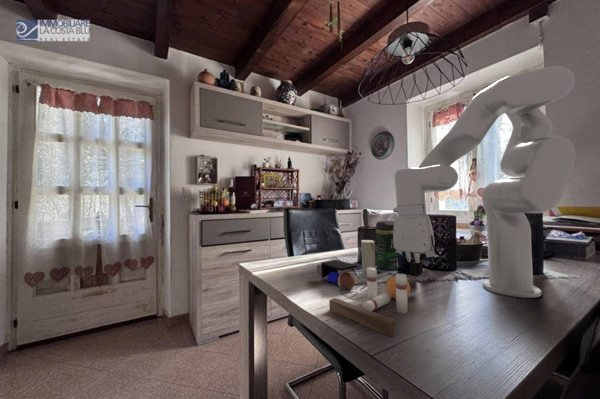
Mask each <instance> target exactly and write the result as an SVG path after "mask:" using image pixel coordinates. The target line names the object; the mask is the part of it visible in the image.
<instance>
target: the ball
mask: <svg viewBox="0 0 600 399" xmlns="http://www.w3.org/2000/svg"><path fill="white" fill-rule="evenodd" d="M385 289H386V292H387V294H388V296H389V297H391V298H392V299H395V300H396V275H393V276H391V277H390V278H388V279H387V281H386V285H385ZM410 294H411V285H410V282H409V281H408V280H407V298H408V297H409V295H410Z"/></svg>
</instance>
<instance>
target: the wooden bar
mask: <svg viewBox="0 0 600 399" xmlns="http://www.w3.org/2000/svg"><path fill="white" fill-rule="evenodd" d="M328 305H329V311H330V312H333V313H335V314H337V315H340V316H341V317H344V318H346V319H349V320H352V321H354V322H356V323H358V324H360V325H363V326H365V327H367V328H369V329H372V330H375V331H376V332H379V333H382V334H383V335H387V336H389V337H391V338H392V337H393V336H395V335H396V334H397V320H396V319H393V318H391V317H388V316H386V315H384V314H380V313H377V312H375V311H369V310H367V309H364V308H362V307H361V306H359V305H355V304H353V303H350V302H348V301H344V300H342V299H339V298H336V297H333V298H331V299H329V304H328Z"/></svg>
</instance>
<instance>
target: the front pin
mask: <svg viewBox="0 0 600 399" xmlns="http://www.w3.org/2000/svg"><path fill="white" fill-rule="evenodd" d="M390 297H391V296H390V295H389V294H388V293H382V294H380V295H377V297H375V298H372V299H370V300H368V299H367V300H366V301H364V302H362V303H361V306H360V307H361V308H364V309H367V310H369V311H372V312H374V311H375V310H377V309H379V308H381V307H383V306H385V305H387V304H389V303H390V302H391V298H390Z"/></svg>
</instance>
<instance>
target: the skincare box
mask: <svg viewBox="0 0 600 399" xmlns="http://www.w3.org/2000/svg"><path fill="white" fill-rule="evenodd" d="M360 243H361V245H360V246H361V273H362V278H366V279H367V268H376V250H375V249H376V247H375V245H376V244H375V243H376V242H375V241H374V240H372V239H361V242H360Z"/></svg>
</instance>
